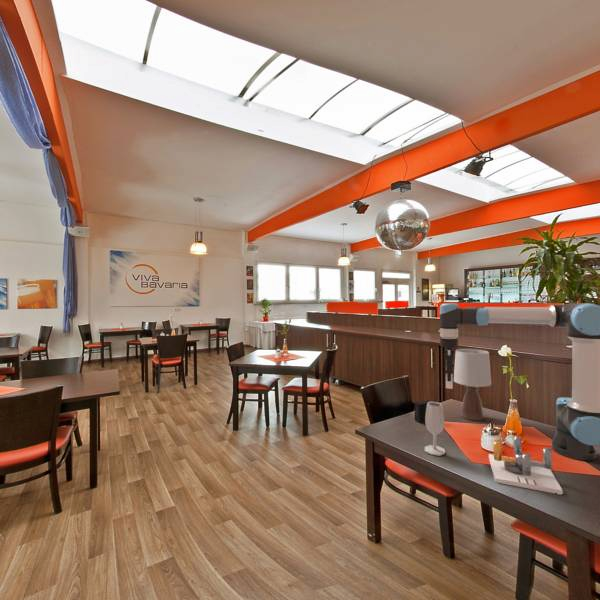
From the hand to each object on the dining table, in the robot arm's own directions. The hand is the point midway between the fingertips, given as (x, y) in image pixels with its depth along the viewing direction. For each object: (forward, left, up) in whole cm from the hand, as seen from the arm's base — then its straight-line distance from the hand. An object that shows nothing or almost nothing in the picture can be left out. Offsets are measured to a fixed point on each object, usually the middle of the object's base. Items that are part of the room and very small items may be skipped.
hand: (449, 384), depth 150 cm
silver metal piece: (-25, +16, -26) cm, 39 cm away
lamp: (-12, -42, -28) cm, 52 cm away
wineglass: (+6, +9, -28) cm, 30 cm away
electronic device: (+12, -27, -28) cm, 41 cm away
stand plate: (-25, +16, -28) cm, 41 cm away
